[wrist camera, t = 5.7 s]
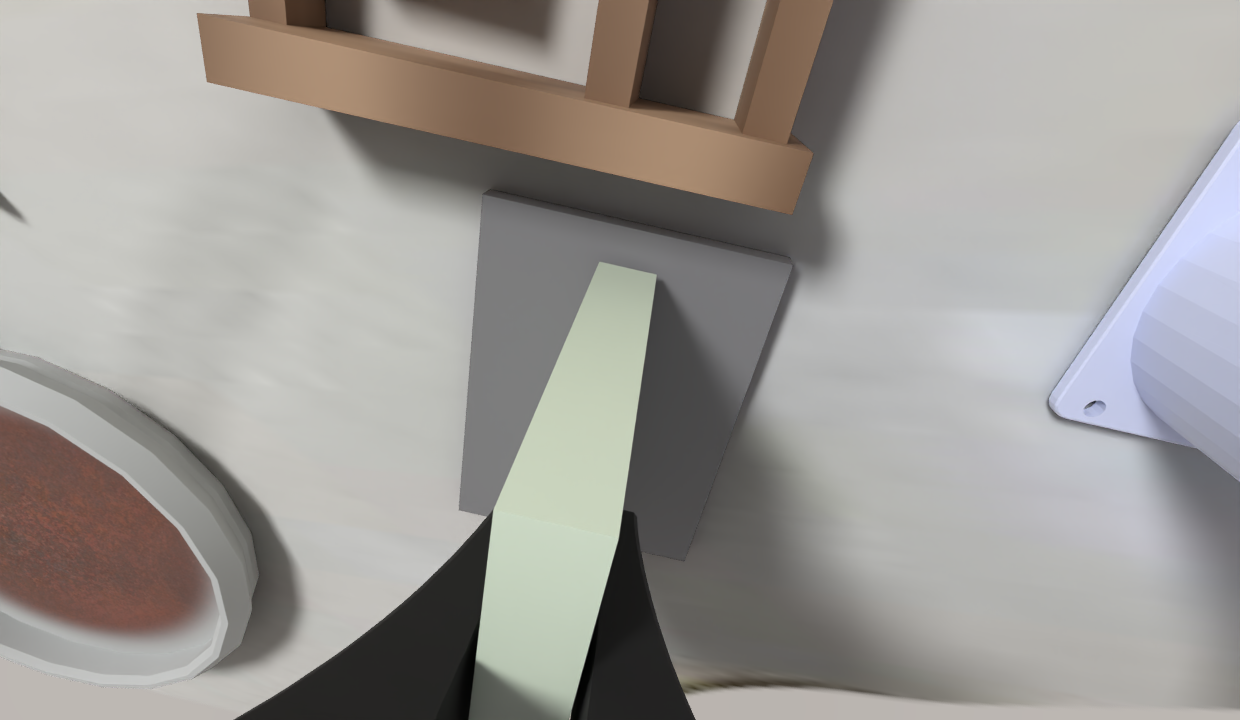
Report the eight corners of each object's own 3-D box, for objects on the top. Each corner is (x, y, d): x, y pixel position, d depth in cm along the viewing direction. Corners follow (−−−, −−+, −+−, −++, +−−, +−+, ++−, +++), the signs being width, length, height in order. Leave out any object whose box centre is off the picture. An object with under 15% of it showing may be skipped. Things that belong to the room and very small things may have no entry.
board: (656, 274, 15) (619, 537, 7) (595, 526, 19) (528, 864, 11) (599, 261, 15) (493, 509, 7) (551, 516, 19) (453, 848, 11)
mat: (789, 257, 15) (793, 264, 14) (684, 548, 20) (684, 561, 20) (490, 189, 15) (482, 194, 14) (465, 498, 20) (458, 510, 20)
